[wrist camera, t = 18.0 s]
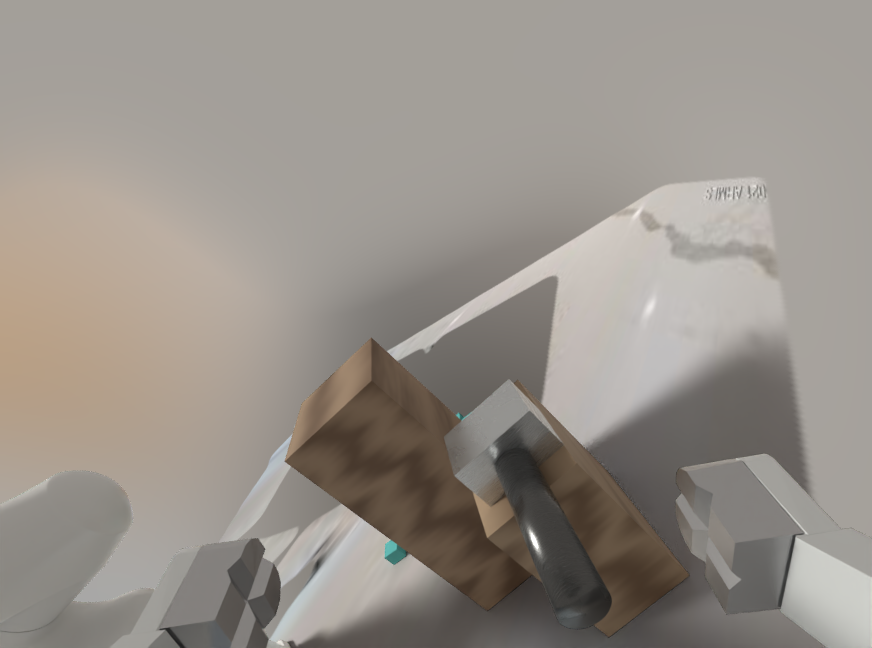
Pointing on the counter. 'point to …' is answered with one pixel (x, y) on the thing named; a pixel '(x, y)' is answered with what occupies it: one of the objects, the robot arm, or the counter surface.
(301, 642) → the counter surface
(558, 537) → the mallet
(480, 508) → the step stand
